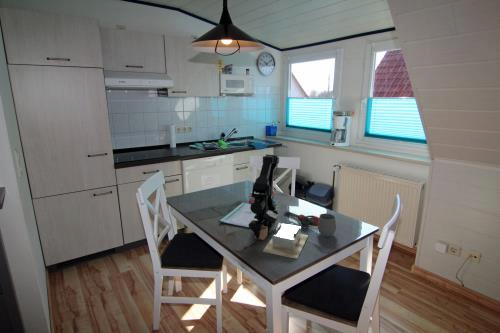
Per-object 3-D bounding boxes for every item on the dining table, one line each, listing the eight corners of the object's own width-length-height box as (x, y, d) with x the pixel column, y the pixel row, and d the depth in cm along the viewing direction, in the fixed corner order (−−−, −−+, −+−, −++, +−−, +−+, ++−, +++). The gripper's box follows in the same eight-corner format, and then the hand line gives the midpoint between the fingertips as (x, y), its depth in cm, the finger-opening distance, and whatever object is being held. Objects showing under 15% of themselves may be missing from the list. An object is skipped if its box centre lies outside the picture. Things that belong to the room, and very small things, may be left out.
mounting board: (277, 231, 156) (277, 229, 155) (308, 236, 149) (308, 235, 149) (263, 251, 136) (263, 250, 136) (297, 259, 130) (297, 257, 130)
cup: (321, 228, 158) (322, 211, 156) (338, 233, 152) (339, 215, 150) (313, 235, 151) (314, 217, 149) (330, 240, 145) (332, 222, 143)
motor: (282, 231, 153) (282, 218, 151) (302, 235, 149) (302, 221, 148) (271, 247, 138) (272, 232, 136) (293, 251, 134) (294, 236, 132)
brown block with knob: (258, 233, 153) (258, 222, 151) (267, 235, 151) (267, 223, 149) (254, 238, 149) (254, 226, 147) (264, 240, 147) (264, 227, 145)
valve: (330, 228, 163) (312, 232, 154) (296, 215, 184) (278, 217, 174) (331, 216, 163) (314, 220, 153) (297, 205, 183) (279, 207, 174)
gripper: (270, 215, 134) (270, 246, 138) (282, 201, 151) (281, 229, 155) (248, 212, 138) (248, 242, 142) (262, 198, 155) (262, 226, 159)
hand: (261, 234), depth 150 cm, fingers open, 9 cm apart
